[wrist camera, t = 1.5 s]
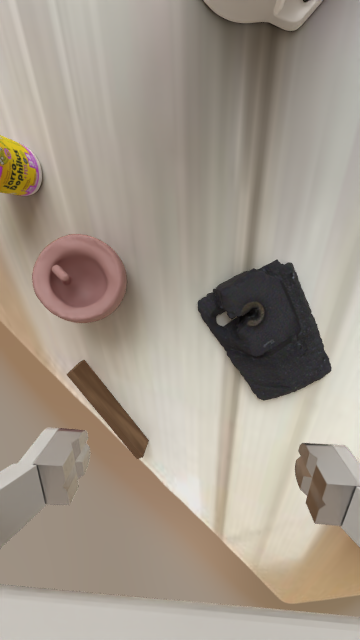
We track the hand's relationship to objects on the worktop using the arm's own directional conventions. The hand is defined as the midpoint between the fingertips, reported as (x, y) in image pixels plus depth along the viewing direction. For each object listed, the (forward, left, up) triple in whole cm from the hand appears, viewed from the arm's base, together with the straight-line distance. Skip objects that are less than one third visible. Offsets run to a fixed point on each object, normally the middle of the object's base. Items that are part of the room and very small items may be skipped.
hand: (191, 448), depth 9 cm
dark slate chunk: (-3, +12, -31) cm, 33 cm away
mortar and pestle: (+15, -11, -30) cm, 35 cm away
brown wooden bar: (+29, +11, -30) cm, 43 cm away
